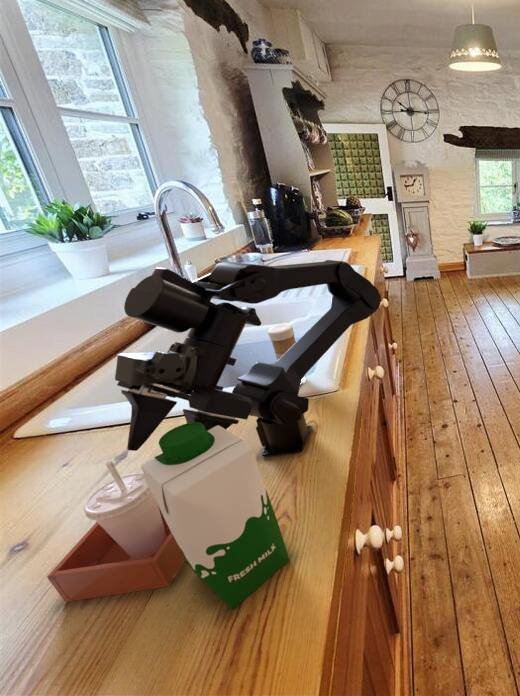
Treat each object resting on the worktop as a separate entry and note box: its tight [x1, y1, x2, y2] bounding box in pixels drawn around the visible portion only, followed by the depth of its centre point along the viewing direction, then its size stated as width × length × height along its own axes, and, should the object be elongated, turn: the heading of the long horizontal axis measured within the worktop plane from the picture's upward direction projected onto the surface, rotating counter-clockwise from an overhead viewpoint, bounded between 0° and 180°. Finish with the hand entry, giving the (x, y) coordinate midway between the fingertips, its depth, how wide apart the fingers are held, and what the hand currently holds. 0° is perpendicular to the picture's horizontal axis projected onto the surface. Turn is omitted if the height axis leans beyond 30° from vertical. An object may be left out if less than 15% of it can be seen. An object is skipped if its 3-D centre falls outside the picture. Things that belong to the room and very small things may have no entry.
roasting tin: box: [46, 503, 187, 603], centre depth 52 cm, size 11×11×4 cm
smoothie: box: [82, 460, 167, 560], centre depth 50 cm, size 6×6×14 cm
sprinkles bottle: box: [267, 323, 306, 377], centre depth 87 cm, size 5×5×13 cm
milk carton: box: [140, 422, 291, 611], centre depth 46 cm, size 9×9×20 cm
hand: (153, 458), depth 52 cm, fingers open, 9 cm apart
